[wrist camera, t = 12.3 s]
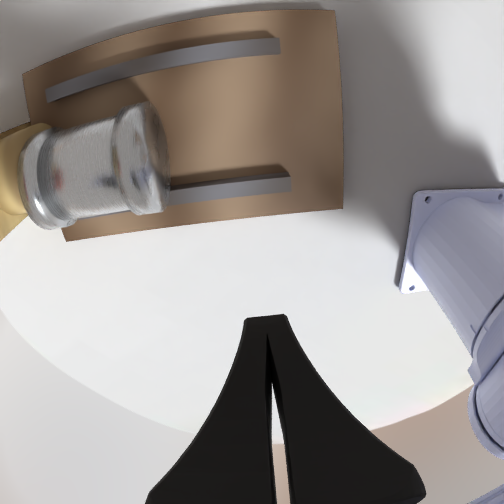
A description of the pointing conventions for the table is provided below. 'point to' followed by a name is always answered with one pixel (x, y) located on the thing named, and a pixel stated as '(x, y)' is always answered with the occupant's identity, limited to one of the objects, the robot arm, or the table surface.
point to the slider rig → (205, 115)
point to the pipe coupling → (96, 168)
